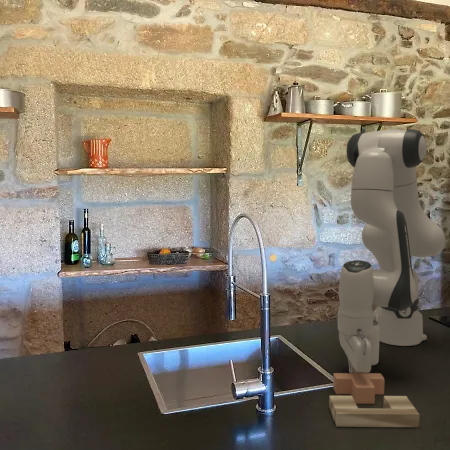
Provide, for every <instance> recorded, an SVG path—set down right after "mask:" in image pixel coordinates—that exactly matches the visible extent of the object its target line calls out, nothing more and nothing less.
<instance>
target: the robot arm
mask: <svg viewBox="0 0 450 450" xmlns="http://www.w3.org/2000/svg"><path fill="white" fill-rule="evenodd" d="M427 147H428V146H427V141H426V138H425V134H423V133H422V131H421V130H418V129H412V128H408V129H394V128H393V129H383V130H381V129H380V130H375V131H374V130H373V131H368V132H365V131H362V132H361V131H360V132H358V133H354V134H353V135H351V136H350V138H349V139H348V141H347V144H346V149H345V150H346V158H347V161H348V163H349V164H350V165H351V167H352V168H354V169H353V173H352V174H353V175H352V179H351V180H352V181H351V189H350V190H351V191H350V205H351V210H352V212H353V214H354V215H355V216H356V217H357V218H358V219H359V220H360V221H362V222H363V223H365V225H364V226H363V228H362V230H361V241H362V244H363V245H364V247H365V248H366V249H367V250H368V251H369V252H370V253H371V254H372V255H373V256H374V258H375V259H376V262H377V263H378V266H379V269H373V268H374V267H373V265H372V263H370V262H368V261H365V260H361V259H359V260H358V259H355V260H349V261H346V262H345V263H343V265H342V266H341V271H340V275H339V281H338V282H339V283H338V297H339V307H338V309H337V310H338V311H337V312H338V313H336V322H337V330H338V339H339V344H340V346H341V348H342V350H343V352H344V353H345V355H346V357H347V362H348V372H349V373H371V370H372V366H371V346H370V342H369V341H368V339H367V335H369V334H371V333H372V332H373V320H375V321H377V322H378V325H379V328H380V335H379V342H381V343H383V344H387V345H393V346H399V347H400V346H401V347H407V346H408V347H409V346H416V345H419V344H421V342H422V341H425V340H426V341H427V340H428V338H427V335H426V334H424V332H423V330H424V328H423V327H424V326H423V325H424V324H423V322H424V321H423V314H422V313H421V312H420V311H419V309H420V308H419V307H420V306H419V305H420V300H419V297H418V296H419V295H418V294H419V293H418V291H419V275H418V273H417V271H416V270H415V269H414V268H413V265H412V257H416V258H417V257H418V258H427V257H429V258H430V257H436V256H439V254H440V253H441V252H442V251H443V249H444V248H445V244H446V236H445V232H444V230H443V229H442V227H440V226H439V225H438V224H436V223H435V222H434V221H433V220H431V218H429V217H428V215H427V214H426V213H425V211H424V209H423V208H422V206H421V202H420V197H419V191H418V179H417V178H418V177H417V169H416V167H418V166H419V165H420V164H422V163H423V162H424V160H425V157H426V154H427V149H428V148H427ZM373 306H374V307H375V306H376V308H375V309H374V310H373Z"/></svg>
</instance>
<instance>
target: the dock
mask: <svg viewBox="0 0 450 450" xmlns="http://www.w3.org/2000/svg"><path fill="white" fill-rule="evenodd" d="M328 401H329V403H328V407H329V411H330V413H331V416H332V419H333V421H334V423H335V427H336V428H338V427H340V428H344V427H345V428H348V427H349V428H350V427H351V428H353V427H354V428H356V427H357V428H420V414H421V413H419V412H418V410H417V408H415V406H414V405H413V403H412V402H411V401H410V399H409V398H408V396H407V395H384V396H383V408H382V407H381V408H374V407H373V408H367V407H366V408H360V407H358V406H357V405H358V404H356V403H355V401H354V399H353V397H352V395H329V399H328Z"/></svg>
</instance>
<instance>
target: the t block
mask: <svg viewBox="0 0 450 450" xmlns="http://www.w3.org/2000/svg"><path fill="white" fill-rule="evenodd" d="M332 382H333V384H332V385H333V386H332V387H333V390H334V393H335V395H350V396H352V397H353V399H354V401H355V403H356V405H358V404H363V405H366V404H368V405H369V404H371V405H372V404H373V405H375V401H376V398H375V397H376V395H385V378H384V376H383V375H382V373H377V372H375V373H373V372H372V373H371V372H369V373H350V372H349V373H347V372H343V373H342V372H340V373H339V372H333V380H332Z"/></svg>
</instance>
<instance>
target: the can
mask: <svg viewBox="0 0 450 450" xmlns="http://www.w3.org/2000/svg"><path fill="white" fill-rule="evenodd" d="M379 335H380V328H379V325H378V322H377V321H375V320H373V332H372V333H371V334H369V335H367V339H368V341H369V342H370V346H371V367H372V366H376V365H377V364H378V363H379V358H380V357H379V356H380V355H379V354H380V341H379Z"/></svg>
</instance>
